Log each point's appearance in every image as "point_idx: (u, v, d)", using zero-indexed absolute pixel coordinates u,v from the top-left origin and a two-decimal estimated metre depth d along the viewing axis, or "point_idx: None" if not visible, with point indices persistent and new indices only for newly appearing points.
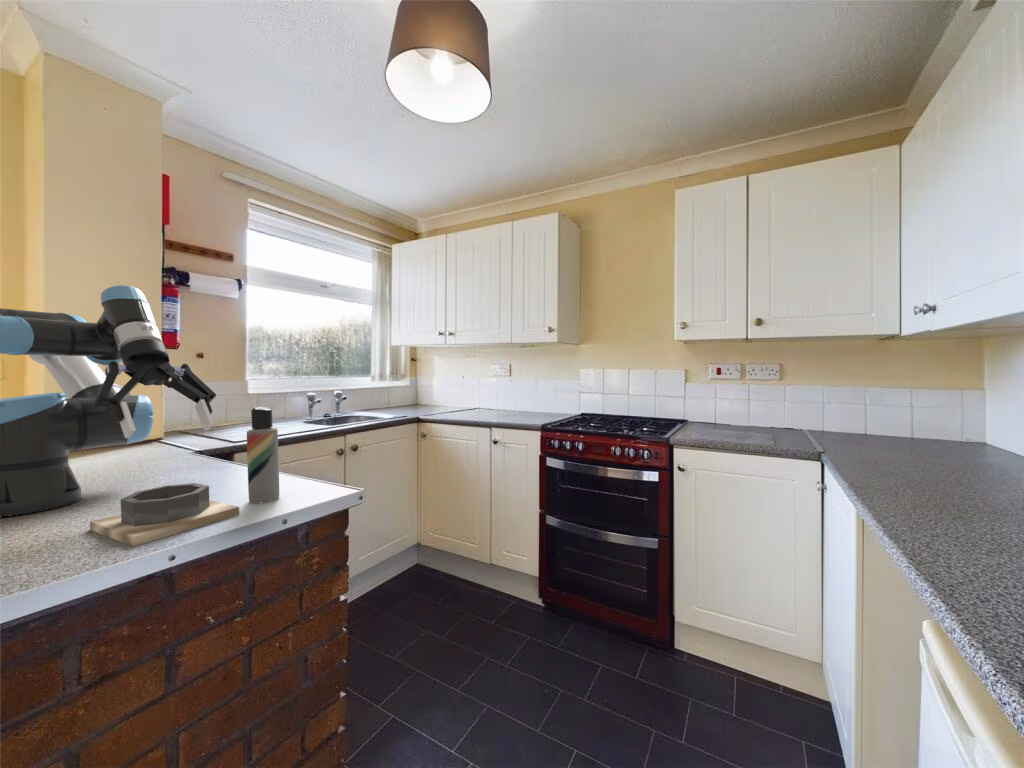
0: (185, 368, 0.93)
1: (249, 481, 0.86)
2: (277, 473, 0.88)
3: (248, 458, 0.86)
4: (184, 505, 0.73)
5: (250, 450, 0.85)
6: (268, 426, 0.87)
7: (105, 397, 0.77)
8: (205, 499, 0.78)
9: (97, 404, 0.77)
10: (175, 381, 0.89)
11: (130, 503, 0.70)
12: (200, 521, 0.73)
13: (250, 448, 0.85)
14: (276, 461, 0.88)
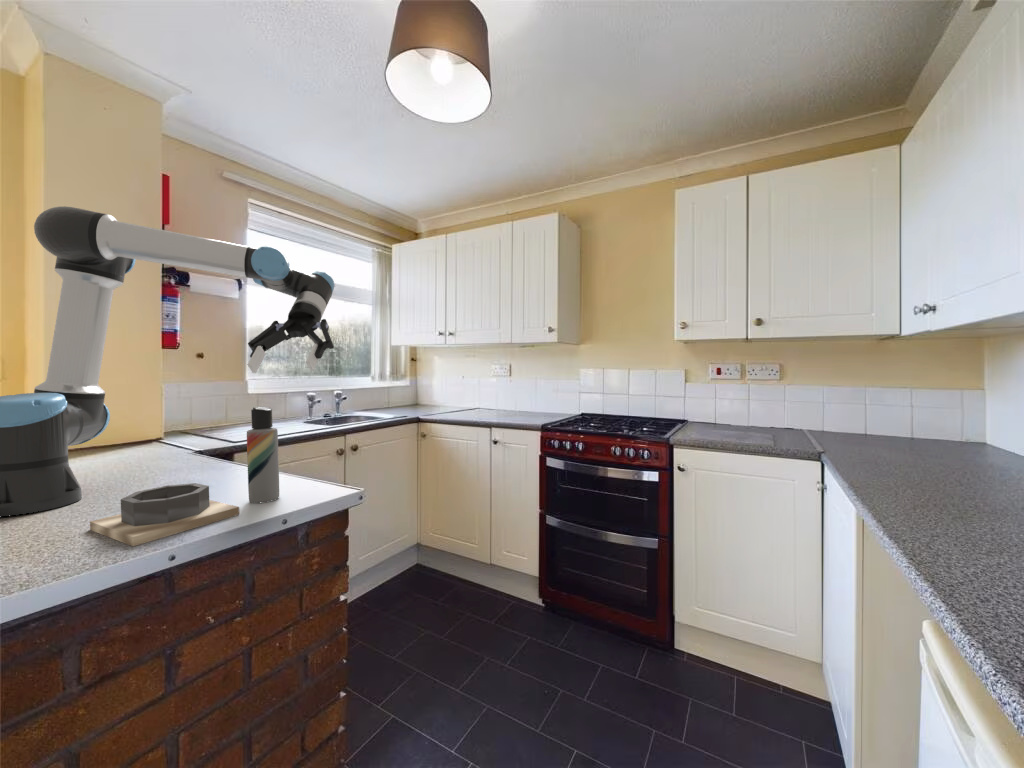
0: None
1: (249, 481, 0.86)
2: (277, 473, 0.88)
3: (248, 458, 0.86)
4: (184, 505, 0.73)
5: (250, 450, 0.85)
6: (268, 426, 0.87)
7: None
8: (205, 499, 0.78)
9: (329, 343, 1.02)
10: (285, 338, 1.05)
11: (130, 503, 0.70)
12: (200, 521, 0.73)
13: (250, 448, 0.85)
14: (276, 461, 0.88)
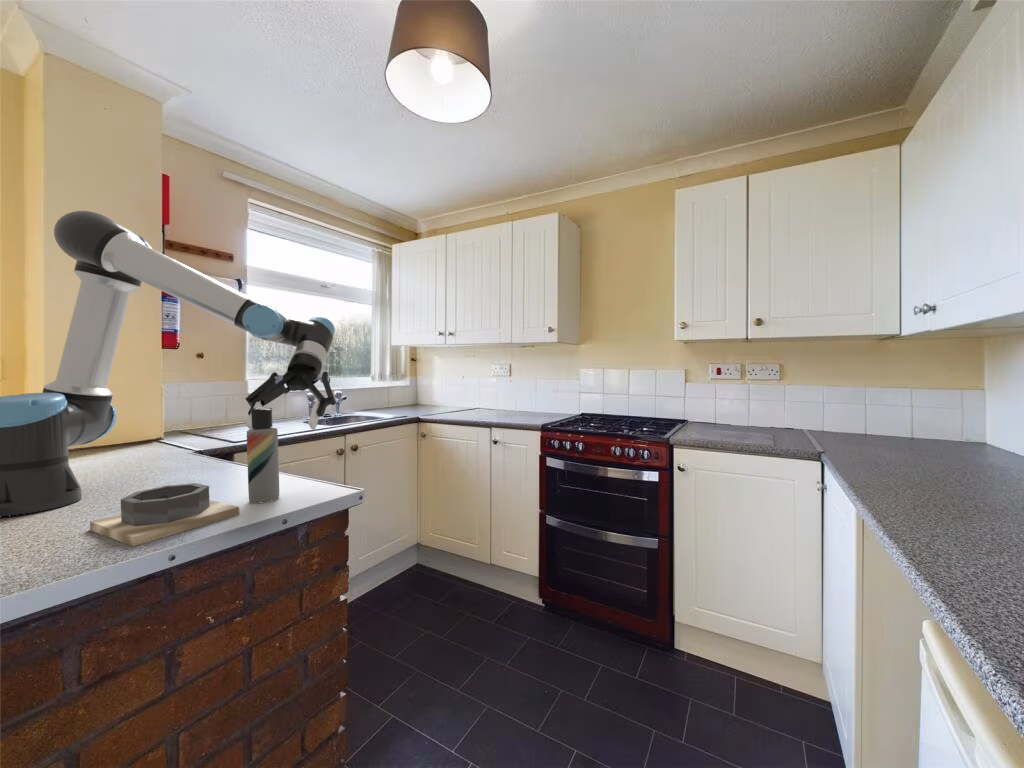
0: None
1: (249, 481, 0.86)
2: (277, 473, 0.88)
3: (248, 458, 0.86)
4: (184, 505, 0.73)
5: (250, 450, 0.85)
6: (268, 426, 0.87)
7: None
8: (205, 499, 0.78)
9: (332, 400, 0.99)
10: (284, 392, 1.02)
11: (130, 503, 0.70)
12: (200, 521, 0.73)
13: (250, 448, 0.85)
14: (276, 461, 0.88)
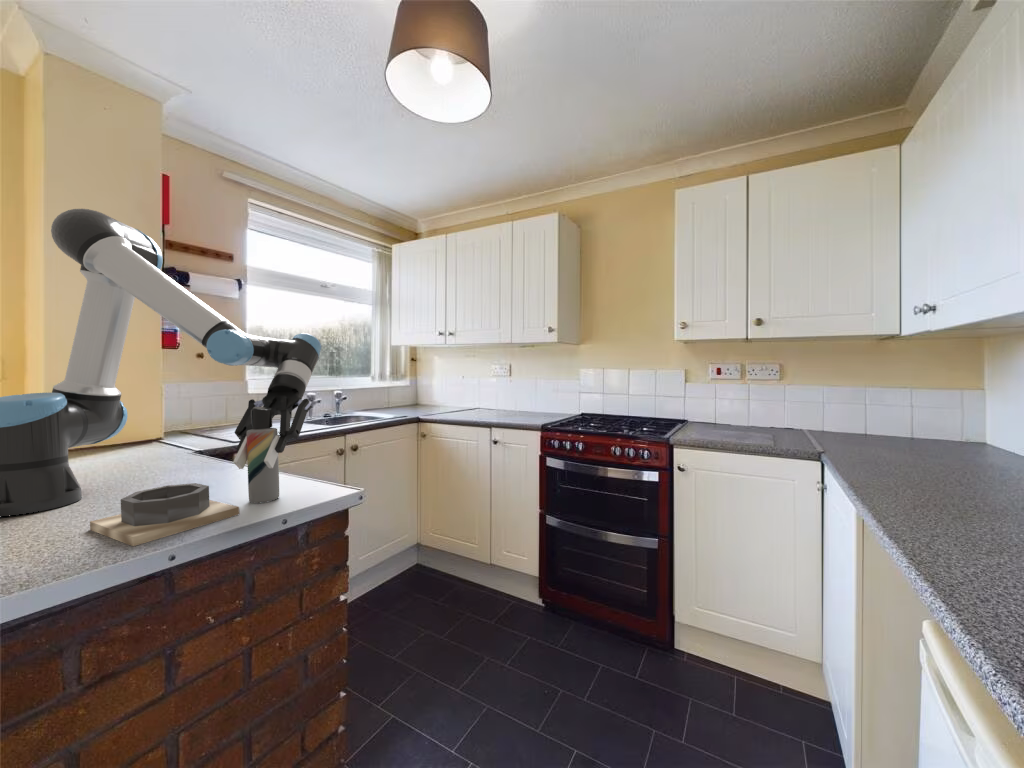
0: None
1: (249, 481, 0.86)
2: (277, 473, 0.88)
3: (248, 458, 0.86)
4: (184, 505, 0.73)
5: (249, 450, 0.85)
6: (268, 426, 0.87)
7: None
8: (205, 499, 0.78)
9: (292, 434, 0.89)
10: None
11: (130, 503, 0.70)
12: (200, 521, 0.73)
13: (250, 448, 0.85)
14: (276, 461, 0.88)
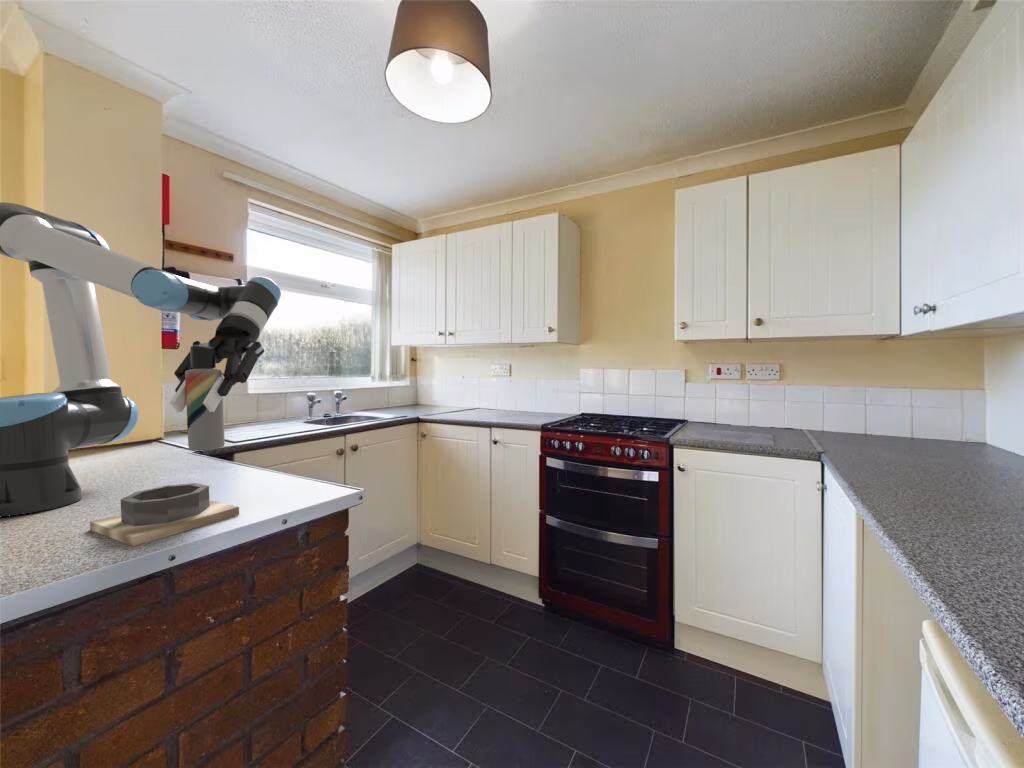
0: None
1: (188, 426, 0.77)
2: (221, 419, 0.80)
3: (187, 401, 0.77)
4: (184, 505, 0.73)
5: (188, 392, 0.77)
6: (210, 366, 0.78)
7: None
8: (205, 499, 0.78)
9: (238, 377, 0.81)
10: (216, 361, 0.85)
11: (130, 503, 0.70)
12: (200, 521, 0.73)
13: (188, 389, 0.77)
14: (220, 405, 0.79)
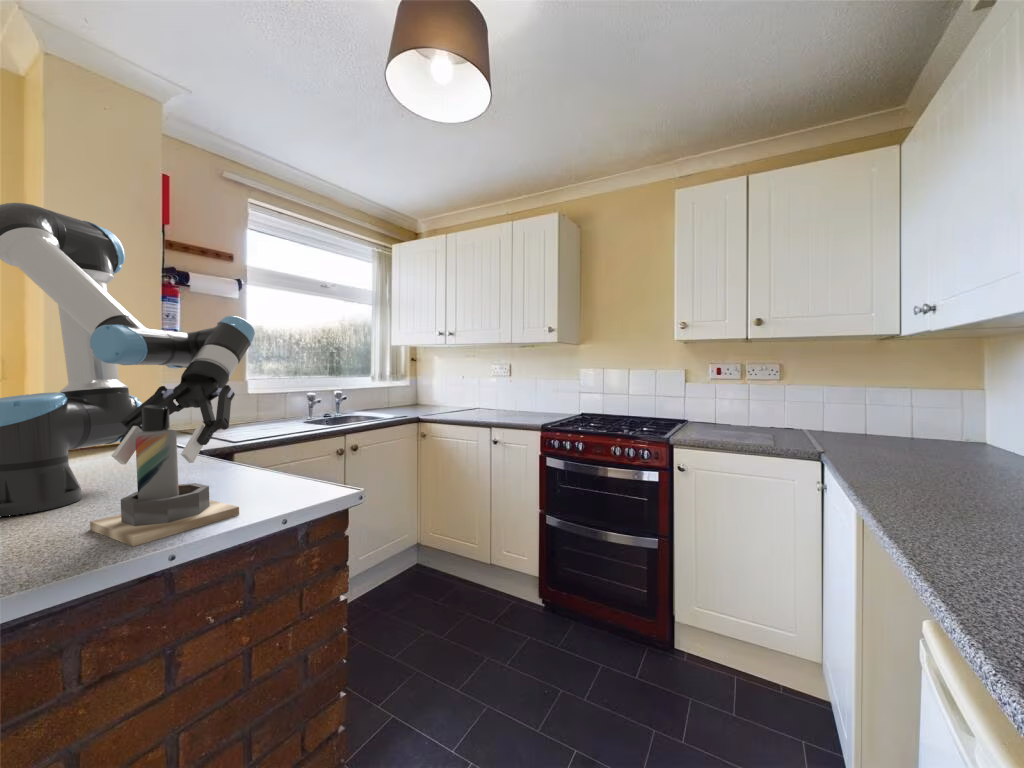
0: None
1: (138, 492, 0.73)
2: (173, 483, 0.75)
3: None
4: (184, 505, 0.73)
5: (137, 456, 0.73)
6: (160, 428, 0.74)
7: None
8: (205, 499, 0.78)
9: (221, 423, 0.77)
10: (175, 410, 0.81)
11: (130, 503, 0.70)
12: (200, 521, 0.73)
13: (137, 454, 0.73)
14: (171, 469, 0.75)
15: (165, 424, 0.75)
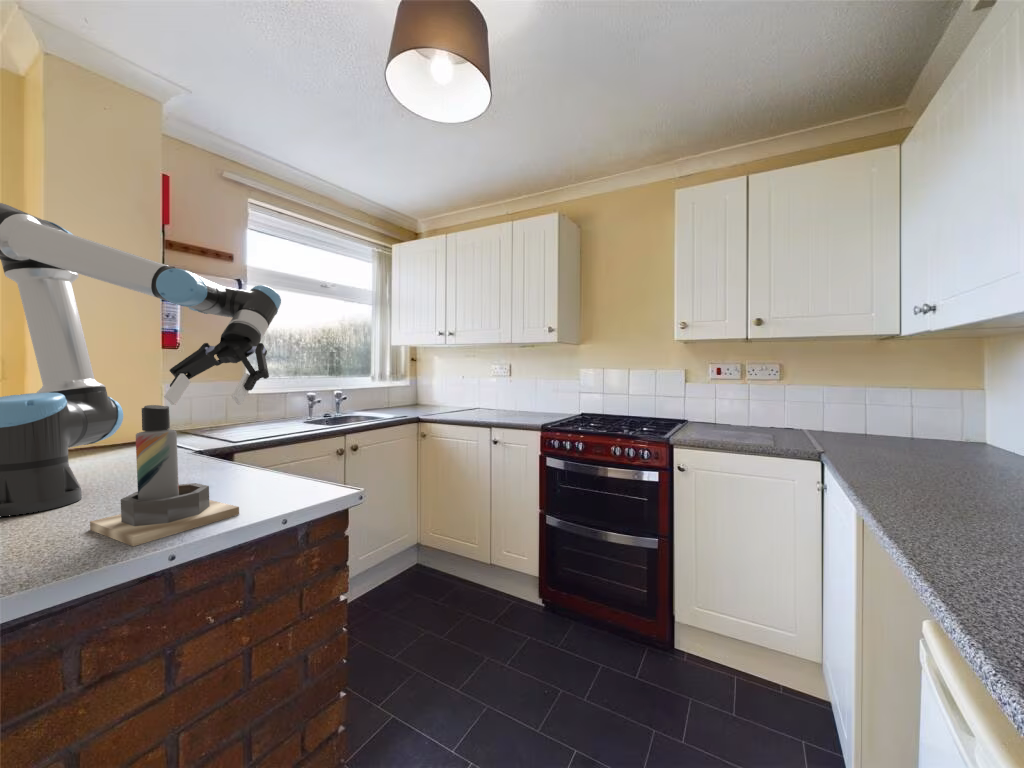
0: None
1: (138, 492, 0.73)
2: (173, 483, 0.75)
3: (137, 465, 0.73)
4: (184, 505, 0.73)
5: (137, 456, 0.73)
6: (161, 428, 0.74)
7: None
8: (205, 499, 0.78)
9: (263, 373, 0.90)
10: (215, 364, 0.94)
11: (130, 503, 0.70)
12: (200, 521, 0.73)
13: (137, 453, 0.73)
14: (171, 469, 0.75)
15: (165, 424, 0.75)
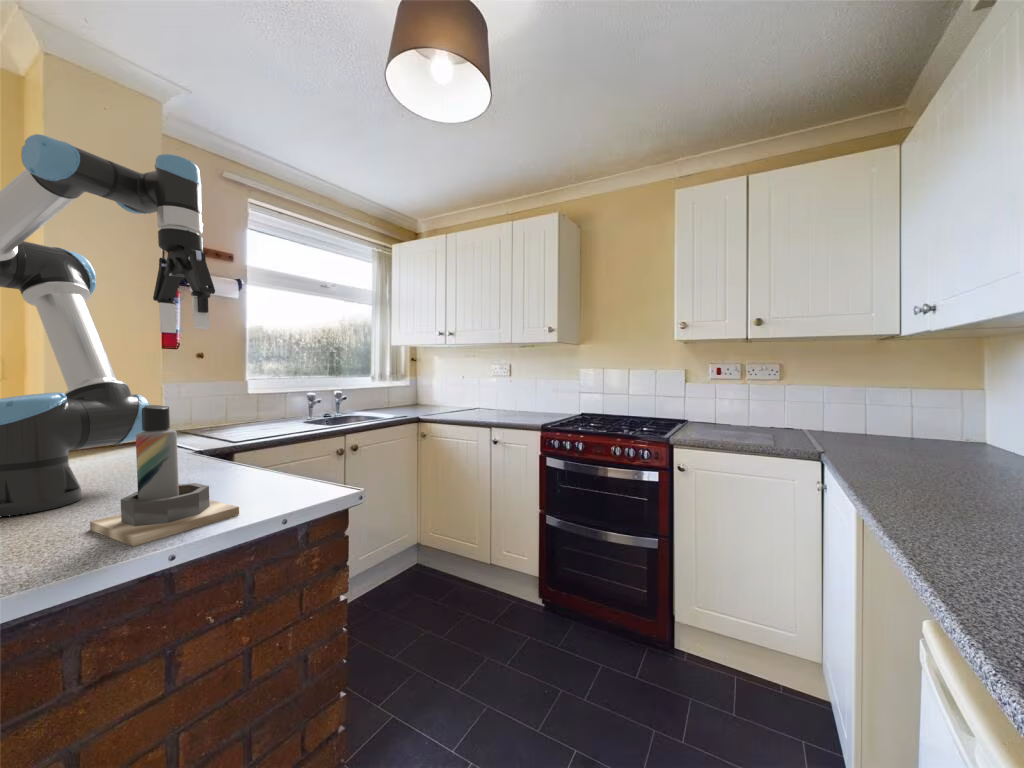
0: None
1: (138, 492, 0.73)
2: (173, 483, 0.75)
3: (137, 465, 0.73)
4: (184, 505, 0.73)
5: (137, 456, 0.73)
6: (161, 428, 0.74)
7: None
8: (205, 499, 0.78)
9: (204, 291, 0.85)
10: (180, 279, 0.92)
11: (130, 503, 0.70)
12: (200, 521, 0.73)
13: (137, 453, 0.73)
14: (171, 469, 0.75)
15: (165, 424, 0.75)
